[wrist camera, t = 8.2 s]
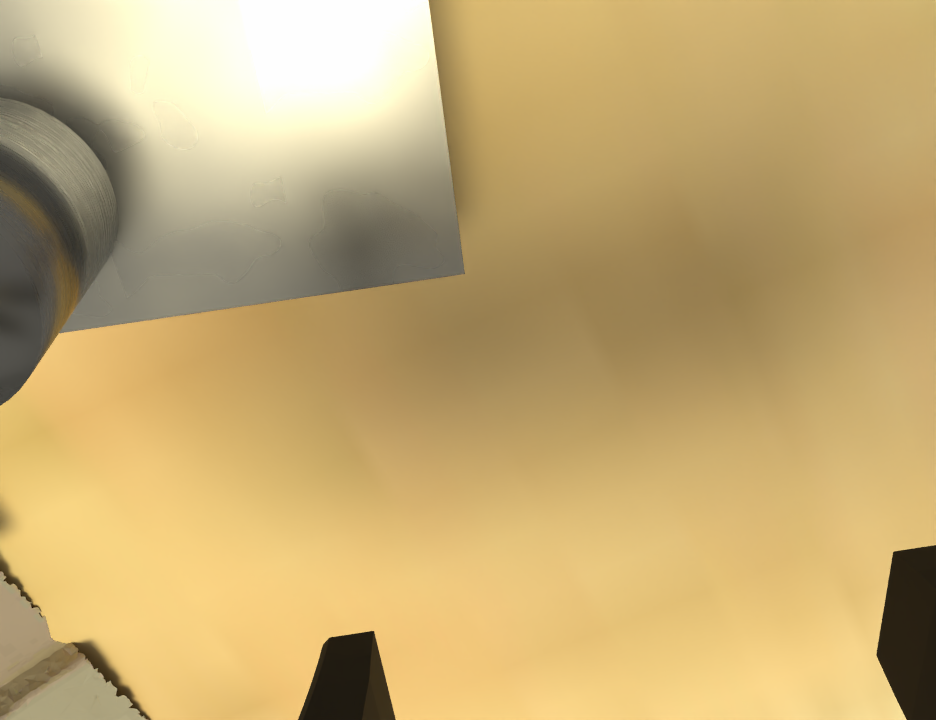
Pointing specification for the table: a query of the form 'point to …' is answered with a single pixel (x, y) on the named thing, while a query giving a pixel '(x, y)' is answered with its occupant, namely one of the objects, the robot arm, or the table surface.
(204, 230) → the silver box with hole
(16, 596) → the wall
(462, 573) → the table surface
